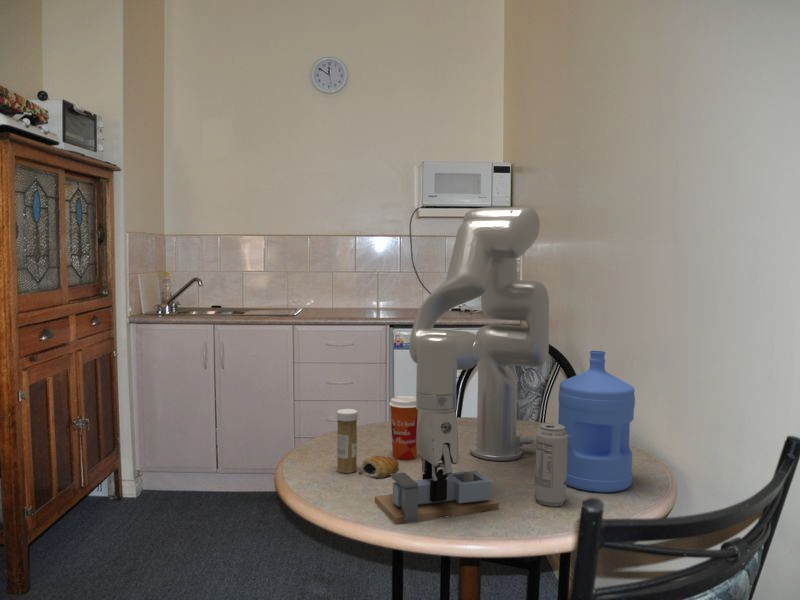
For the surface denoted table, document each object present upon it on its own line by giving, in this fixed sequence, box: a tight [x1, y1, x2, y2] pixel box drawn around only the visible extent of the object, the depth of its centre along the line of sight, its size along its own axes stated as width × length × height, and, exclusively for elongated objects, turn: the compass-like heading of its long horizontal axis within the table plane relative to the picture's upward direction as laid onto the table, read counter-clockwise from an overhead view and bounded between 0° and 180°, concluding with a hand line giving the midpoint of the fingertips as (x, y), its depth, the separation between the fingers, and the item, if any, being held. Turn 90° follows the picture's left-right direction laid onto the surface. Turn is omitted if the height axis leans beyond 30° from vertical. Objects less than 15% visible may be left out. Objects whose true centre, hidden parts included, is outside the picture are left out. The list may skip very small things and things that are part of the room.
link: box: [392, 470, 492, 507], centre depth 121 cm, size 18×7×4 cm, turn 110°
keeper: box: [391, 472, 419, 524], centre depth 117 cm, size 2×7×7 cm, turn 22°
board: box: [374, 471, 500, 525], centre depth 122 cm, size 21×11×6 cm, turn 112°
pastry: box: [358, 455, 400, 479], centre depth 141 cm, size 9×7×4 cm
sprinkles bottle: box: [336, 408, 359, 474], centre depth 141 cm, size 5×5×14 cm
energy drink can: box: [534, 422, 568, 507], centre depth 124 cm, size 6×6×15 cm
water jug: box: [557, 350, 636, 493], centre depth 136 cm, size 16×16×28 cm
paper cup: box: [388, 395, 418, 461], centre depth 152 cm, size 8×8×14 cm
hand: (434, 496), depth 120 cm, fingers closed on link, 3 cm apart
